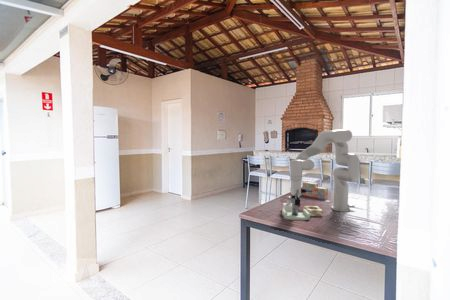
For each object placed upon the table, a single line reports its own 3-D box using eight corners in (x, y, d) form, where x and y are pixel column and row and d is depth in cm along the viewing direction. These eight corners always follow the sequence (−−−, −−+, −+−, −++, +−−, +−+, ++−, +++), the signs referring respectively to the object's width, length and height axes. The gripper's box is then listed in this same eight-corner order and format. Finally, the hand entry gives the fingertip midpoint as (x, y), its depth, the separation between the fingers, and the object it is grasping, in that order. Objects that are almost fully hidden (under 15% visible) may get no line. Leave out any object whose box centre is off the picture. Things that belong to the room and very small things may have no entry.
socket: (317, 211, 165) (317, 206, 165) (322, 216, 155) (322, 210, 155) (303, 211, 166) (303, 205, 165) (307, 215, 156) (307, 210, 155)
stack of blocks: (327, 198, 202) (328, 184, 202) (324, 199, 198) (325, 185, 197) (305, 194, 218) (305, 181, 218) (302, 195, 214) (302, 182, 213)
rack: (305, 214, 158) (305, 209, 157) (309, 219, 148) (309, 213, 148) (281, 214, 159) (282, 208, 159) (284, 219, 149) (284, 213, 149)
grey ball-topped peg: (291, 209, 167) (291, 195, 167) (292, 211, 163) (292, 197, 162) (284, 209, 168) (285, 195, 167) (286, 210, 163) (286, 197, 163)
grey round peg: (297, 213, 155) (297, 197, 155) (298, 215, 151) (299, 199, 151) (291, 213, 155) (291, 197, 155) (292, 215, 151) (293, 199, 151)
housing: (292, 209, 169) (292, 203, 168) (294, 212, 162) (294, 205, 161) (282, 209, 169) (282, 202, 169) (284, 212, 162) (284, 205, 162)
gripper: (287, 175, 161) (287, 199, 162) (293, 180, 144) (292, 207, 144) (298, 176, 160) (298, 200, 161) (305, 180, 143) (304, 207, 144)
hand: (295, 203), depth 153 cm, fingers open, 9 cm apart
